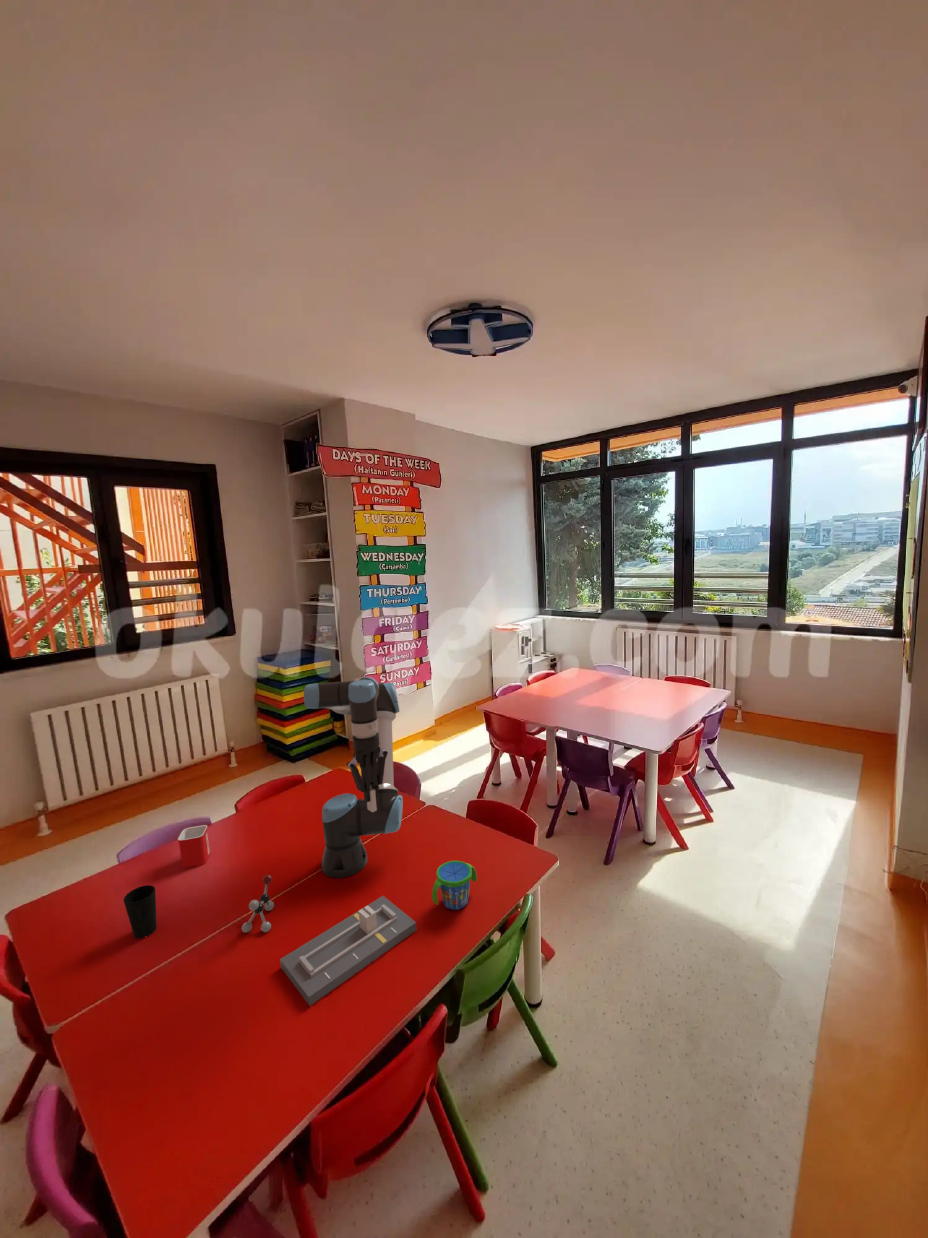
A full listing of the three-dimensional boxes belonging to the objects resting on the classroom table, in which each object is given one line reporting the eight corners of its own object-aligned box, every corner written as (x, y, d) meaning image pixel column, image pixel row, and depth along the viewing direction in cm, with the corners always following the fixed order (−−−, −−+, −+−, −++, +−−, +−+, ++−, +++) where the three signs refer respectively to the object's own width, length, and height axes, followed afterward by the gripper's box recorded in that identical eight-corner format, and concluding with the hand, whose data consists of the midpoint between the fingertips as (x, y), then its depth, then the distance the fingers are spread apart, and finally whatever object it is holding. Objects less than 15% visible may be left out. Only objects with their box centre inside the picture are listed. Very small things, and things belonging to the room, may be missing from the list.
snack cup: (467, 882, 158) (465, 852, 157) (487, 900, 149) (485, 869, 148) (424, 903, 150) (422, 872, 148) (442, 924, 141) (440, 891, 140)
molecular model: (240, 935, 141) (236, 901, 140) (259, 905, 153) (255, 873, 152) (269, 934, 141) (264, 900, 139) (285, 904, 153) (281, 872, 151)
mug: (206, 865, 175) (202, 836, 173) (180, 869, 173) (176, 841, 171) (214, 845, 186) (211, 819, 185) (190, 849, 185) (186, 823, 183)
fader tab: (360, 927, 138) (358, 910, 137) (369, 921, 140) (367, 904, 140) (367, 935, 135) (366, 917, 135) (377, 928, 137) (375, 911, 137)
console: (280, 967, 129) (279, 953, 129) (383, 903, 151) (382, 891, 150) (309, 1006, 118) (308, 991, 117) (416, 930, 139) (415, 917, 139)
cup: (167, 924, 147) (161, 887, 145) (143, 944, 140) (136, 905, 138) (147, 919, 149) (142, 883, 148) (123, 939, 142) (116, 900, 141)
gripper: (352, 744, 138) (360, 823, 141) (391, 730, 147) (397, 805, 150) (338, 737, 143) (346, 814, 146) (377, 724, 152) (383, 797, 155)
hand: (372, 809), depth 148 cm, fingers closed
